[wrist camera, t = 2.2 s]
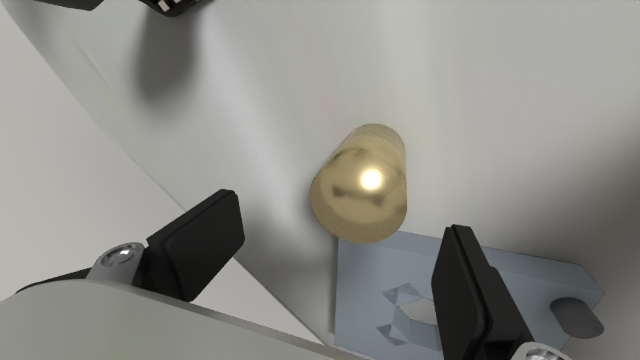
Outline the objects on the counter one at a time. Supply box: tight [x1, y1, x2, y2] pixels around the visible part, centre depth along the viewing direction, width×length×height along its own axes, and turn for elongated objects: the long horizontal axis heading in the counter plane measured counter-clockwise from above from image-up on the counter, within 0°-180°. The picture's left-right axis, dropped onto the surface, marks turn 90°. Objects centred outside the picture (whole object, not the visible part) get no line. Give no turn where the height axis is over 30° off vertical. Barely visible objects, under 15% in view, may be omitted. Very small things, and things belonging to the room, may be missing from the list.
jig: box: [334, 231, 605, 360], centre depth 21 cm, size 18×16×4 cm
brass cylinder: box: [310, 124, 407, 243], centre depth 15 cm, size 5×5×8 cm
